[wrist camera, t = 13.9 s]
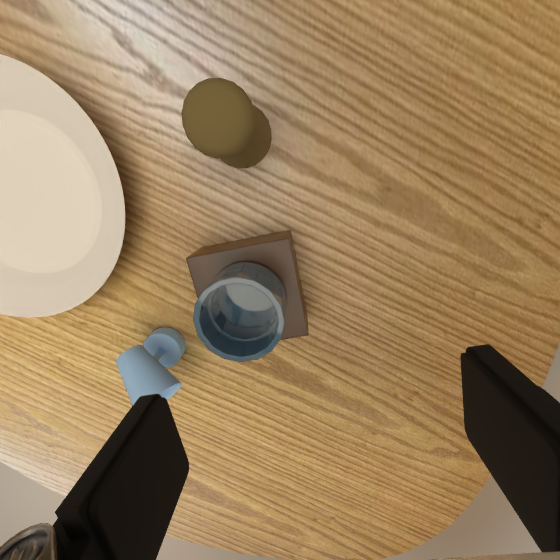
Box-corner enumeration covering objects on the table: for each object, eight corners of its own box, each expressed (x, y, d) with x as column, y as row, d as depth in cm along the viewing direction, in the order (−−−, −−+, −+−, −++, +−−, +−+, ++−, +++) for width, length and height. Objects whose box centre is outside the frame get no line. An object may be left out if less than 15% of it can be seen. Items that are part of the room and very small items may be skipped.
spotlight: (204, 351, 40) (159, 314, 39) (175, 406, 30) (113, 359, 29) (180, 376, 41) (135, 341, 40) (144, 436, 32) (84, 392, 30)
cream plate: (-29, -2, 30) (-71, -25, 27) (188, 184, 34) (175, 185, 31) (-122, 207, 37) (-166, 210, 33) (69, 344, 41) (47, 359, 37)
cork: (281, 119, 32) (273, 91, 21) (256, 178, 34) (236, 179, 23) (224, 90, 31) (187, 45, 21) (201, 151, 33) (156, 139, 23)
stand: (290, 229, 35) (289, 237, 30) (307, 315, 38) (308, 335, 33) (200, 247, 36) (185, 258, 31) (223, 329, 39) (213, 350, 34)
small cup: (277, 254, 31) (273, 270, 25) (293, 326, 33) (291, 354, 28) (202, 268, 32) (182, 286, 26) (221, 337, 34) (207, 367, 28)
